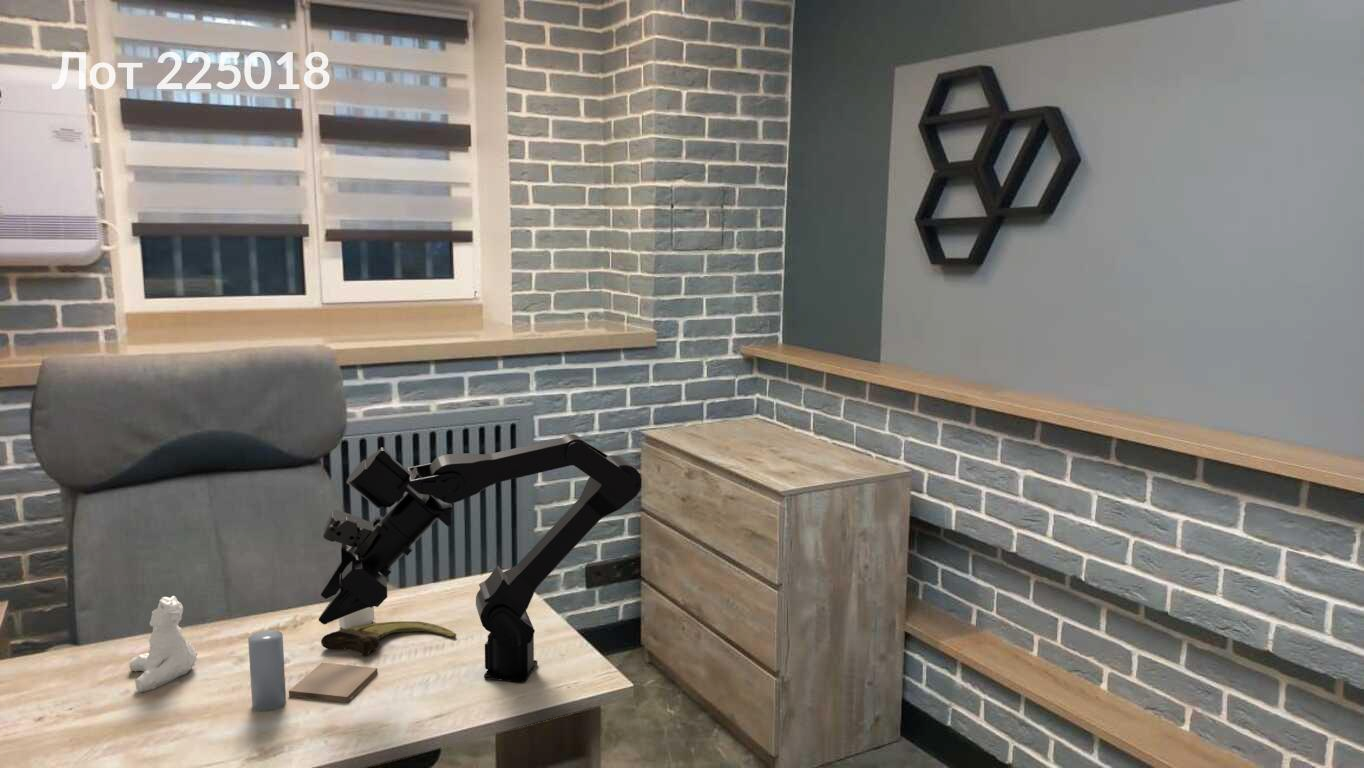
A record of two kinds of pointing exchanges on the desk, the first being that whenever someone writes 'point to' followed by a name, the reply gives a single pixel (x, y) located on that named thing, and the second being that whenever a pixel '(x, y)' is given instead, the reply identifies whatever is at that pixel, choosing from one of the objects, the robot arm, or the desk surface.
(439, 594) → the desk surface
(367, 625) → the claw
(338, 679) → the coaster
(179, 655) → the white creature statuette
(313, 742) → the desk surface
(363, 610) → the eye dropper bottle
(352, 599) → the robot arm
